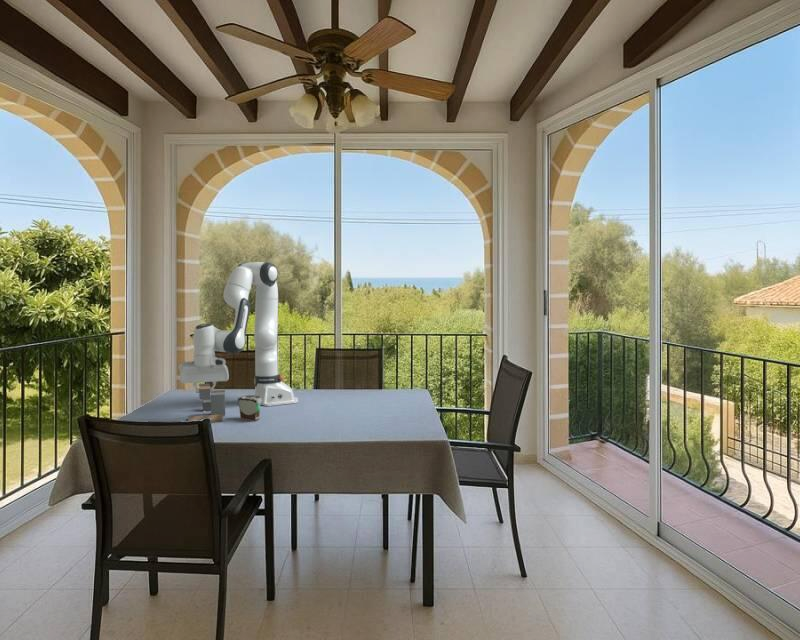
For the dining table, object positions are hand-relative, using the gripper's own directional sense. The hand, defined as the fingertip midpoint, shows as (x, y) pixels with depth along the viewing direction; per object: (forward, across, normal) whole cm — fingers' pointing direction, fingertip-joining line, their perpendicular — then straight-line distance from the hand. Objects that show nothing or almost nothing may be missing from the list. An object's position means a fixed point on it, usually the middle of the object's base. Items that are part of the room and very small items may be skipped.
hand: (204, 392), depth 235 cm
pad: (+13, 0, 0) cm, 13 cm away
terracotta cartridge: (+3, 0, 0) cm, 3 cm away
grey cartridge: (+13, +2, +20) cm, 24 cm away
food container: (+13, +20, -4) cm, 24 cm away
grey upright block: (+13, +6, +9) cm, 17 cm away
